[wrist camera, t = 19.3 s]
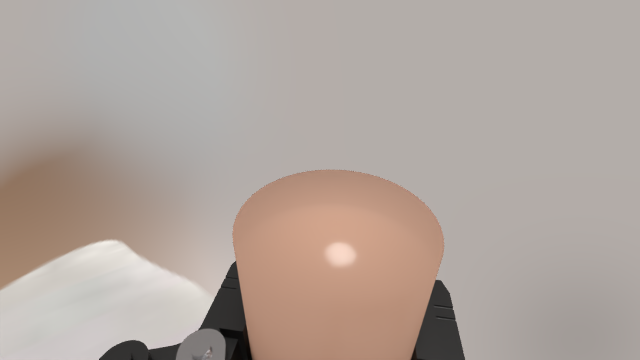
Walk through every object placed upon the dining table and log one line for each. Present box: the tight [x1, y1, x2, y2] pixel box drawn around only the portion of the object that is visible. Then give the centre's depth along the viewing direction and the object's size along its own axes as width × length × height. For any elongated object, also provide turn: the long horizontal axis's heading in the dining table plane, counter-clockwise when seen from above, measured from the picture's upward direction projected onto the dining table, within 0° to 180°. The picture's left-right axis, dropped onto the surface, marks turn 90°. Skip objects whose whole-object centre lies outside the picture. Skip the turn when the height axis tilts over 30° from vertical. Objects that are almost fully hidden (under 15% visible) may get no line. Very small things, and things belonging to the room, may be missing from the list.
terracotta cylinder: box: [233, 170, 444, 360], centre depth 11 cm, size 5×5×11 cm
